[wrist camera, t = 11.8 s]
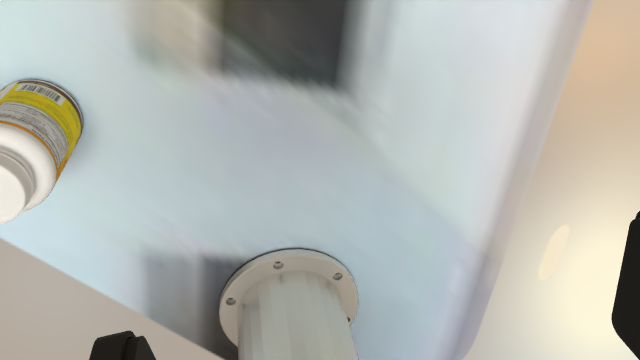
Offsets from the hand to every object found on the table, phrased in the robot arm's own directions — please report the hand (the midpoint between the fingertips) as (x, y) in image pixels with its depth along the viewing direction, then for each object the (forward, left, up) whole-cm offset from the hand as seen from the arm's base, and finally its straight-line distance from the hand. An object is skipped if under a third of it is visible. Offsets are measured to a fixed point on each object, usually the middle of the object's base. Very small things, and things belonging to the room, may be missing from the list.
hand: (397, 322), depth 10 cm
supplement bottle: (-4, +17, -28) cm, 33 cm away
